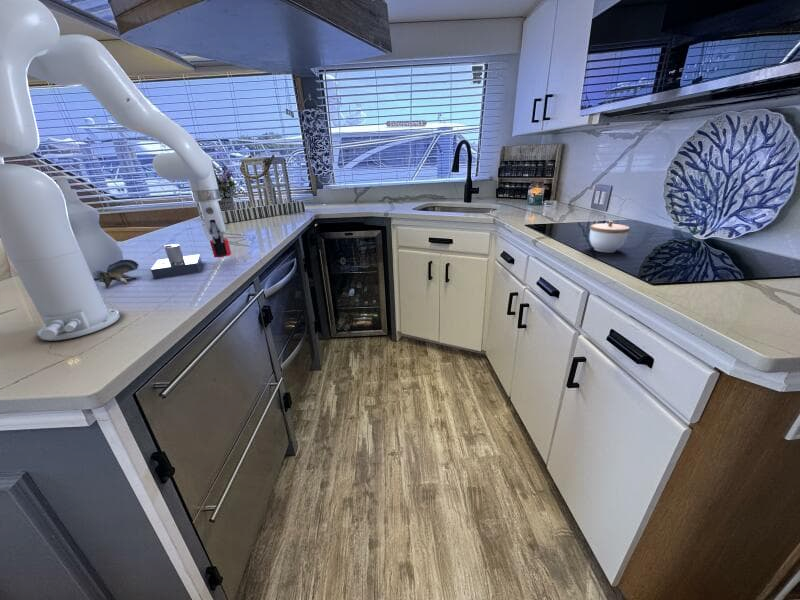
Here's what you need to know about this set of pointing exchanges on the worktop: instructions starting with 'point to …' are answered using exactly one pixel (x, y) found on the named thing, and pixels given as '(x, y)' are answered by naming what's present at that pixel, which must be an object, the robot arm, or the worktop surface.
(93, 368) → the worktop surface
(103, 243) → the soap bottle
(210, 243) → the strawberry toy
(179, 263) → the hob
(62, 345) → the worktop surface
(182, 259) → the knob
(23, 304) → the worktop surface
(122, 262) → the squirrel figurine
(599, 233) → the trinket box
